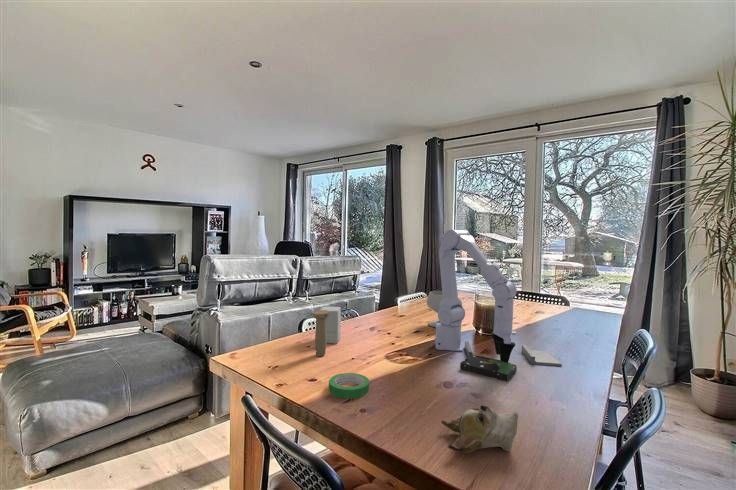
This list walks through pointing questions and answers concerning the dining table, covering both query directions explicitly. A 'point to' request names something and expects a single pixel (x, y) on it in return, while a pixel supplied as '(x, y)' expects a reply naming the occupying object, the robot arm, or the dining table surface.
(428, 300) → the chalice
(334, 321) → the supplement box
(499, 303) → the robot arm
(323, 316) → the handle
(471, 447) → the ceramic sculpture
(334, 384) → the tape roll
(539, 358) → the grey flat panel
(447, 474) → the dining table surface
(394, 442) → the dining table surface
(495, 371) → the disk drive
